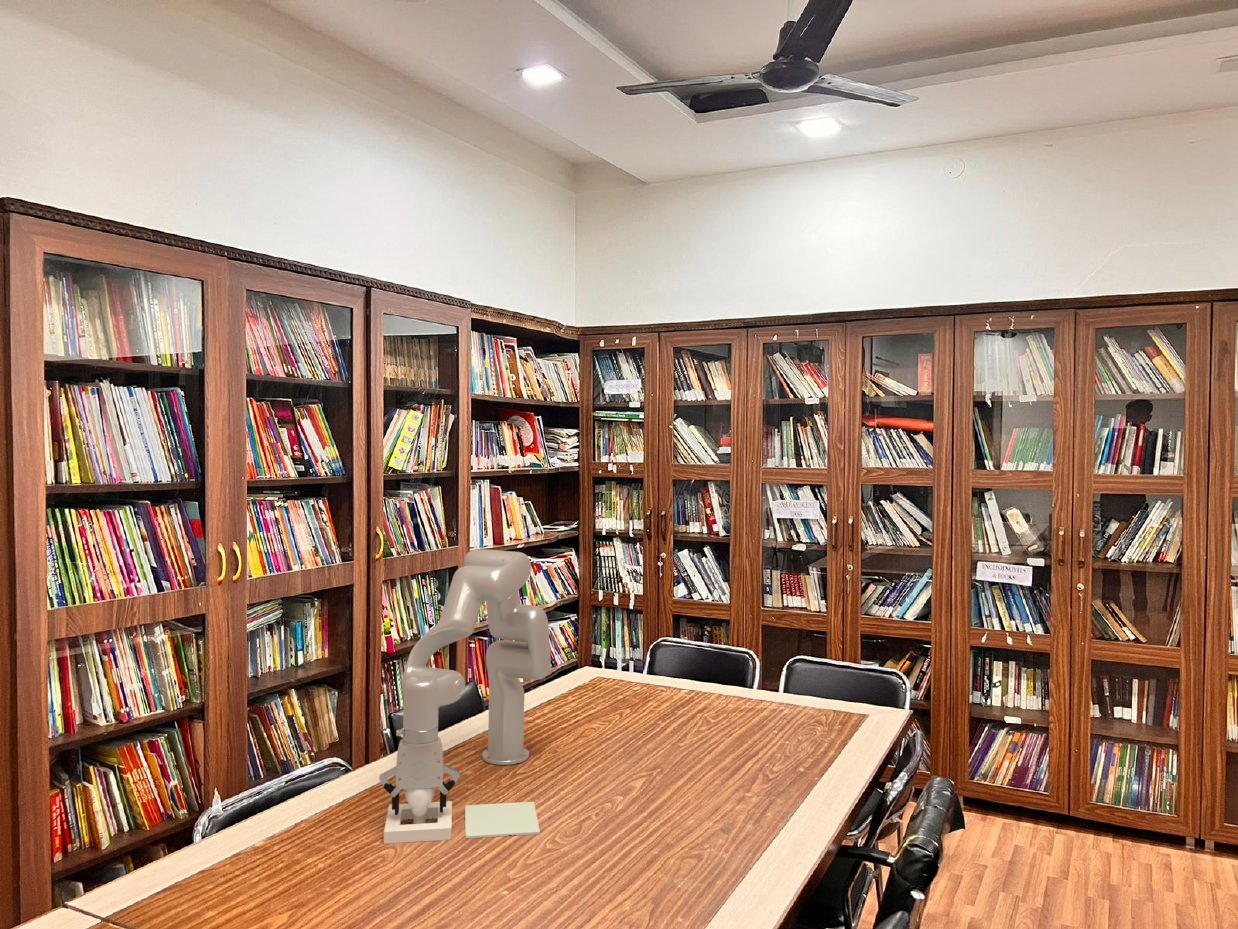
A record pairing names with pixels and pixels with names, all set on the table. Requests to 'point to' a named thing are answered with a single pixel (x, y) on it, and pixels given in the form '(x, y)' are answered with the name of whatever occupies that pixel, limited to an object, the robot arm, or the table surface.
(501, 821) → the sage mat
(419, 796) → the lightbulb
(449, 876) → the table surface
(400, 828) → the pocket holder
